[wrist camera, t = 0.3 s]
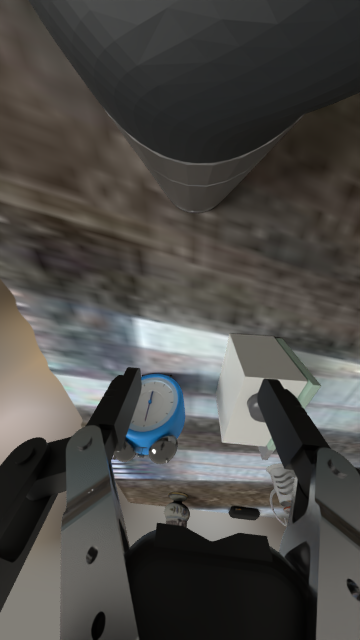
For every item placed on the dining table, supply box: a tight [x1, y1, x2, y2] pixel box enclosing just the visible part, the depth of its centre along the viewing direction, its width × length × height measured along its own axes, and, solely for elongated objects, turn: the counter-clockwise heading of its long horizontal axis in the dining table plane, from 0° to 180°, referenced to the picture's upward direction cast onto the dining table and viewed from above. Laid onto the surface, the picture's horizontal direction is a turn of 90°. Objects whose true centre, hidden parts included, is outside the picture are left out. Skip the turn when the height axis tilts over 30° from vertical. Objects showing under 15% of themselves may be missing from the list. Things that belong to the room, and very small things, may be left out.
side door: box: [258, 338, 321, 460], centre depth 30 cm, size 22×1×10 cm, turn 178°
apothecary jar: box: [164, 492, 190, 528], centre depth 71 cm, size 12×12×18 cm
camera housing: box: [216, 334, 308, 447], centre depth 29 cm, size 18×8×12 cm, turn 178°
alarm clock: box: [113, 374, 185, 464], centre depth 31 cm, size 13×6×15 cm, turn 95°
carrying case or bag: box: [229, 506, 260, 520], centre depth 81 cm, size 11×3×15 cm
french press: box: [266, 464, 296, 526], centre depth 45 cm, size 10×12×25 cm
